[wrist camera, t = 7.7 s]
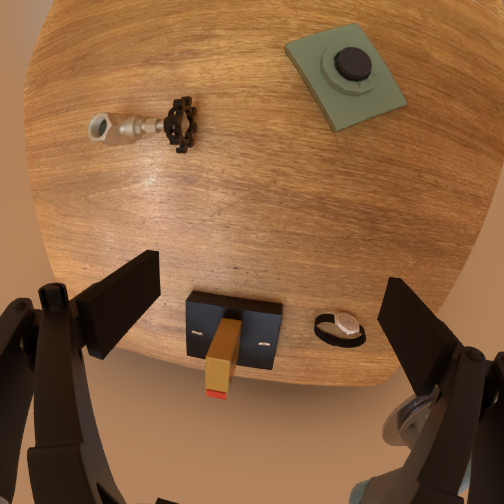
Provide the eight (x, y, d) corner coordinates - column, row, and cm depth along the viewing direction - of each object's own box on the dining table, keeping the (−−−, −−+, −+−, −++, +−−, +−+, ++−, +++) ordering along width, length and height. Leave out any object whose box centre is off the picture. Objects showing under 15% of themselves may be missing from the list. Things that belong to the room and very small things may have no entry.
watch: (369, 320, 34) (376, 334, 31) (352, 346, 36) (357, 361, 32) (322, 302, 34) (325, 316, 31) (306, 330, 36) (307, 345, 32)
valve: (113, 156, 32) (195, 155, 31) (83, 156, 25) (174, 151, 24) (117, 110, 30) (199, 103, 29) (88, 102, 23) (180, 88, 22)
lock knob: (221, 317, 33) (204, 358, 25) (241, 320, 33) (229, 362, 25) (219, 354, 35) (204, 396, 27) (238, 357, 34) (226, 401, 27)
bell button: (373, 75, 22) (378, 70, 21) (346, 84, 23) (350, 79, 21) (356, 49, 22) (360, 43, 20) (329, 58, 22) (332, 51, 21)
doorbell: (400, 107, 26) (414, 100, 22) (333, 133, 28) (340, 128, 24) (353, 29, 23) (360, 15, 20) (284, 51, 26) (284, 37, 22)
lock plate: (282, 303, 35) (282, 315, 32) (272, 357, 37) (271, 371, 34) (192, 290, 36) (185, 300, 33) (192, 343, 38) (186, 356, 35)
